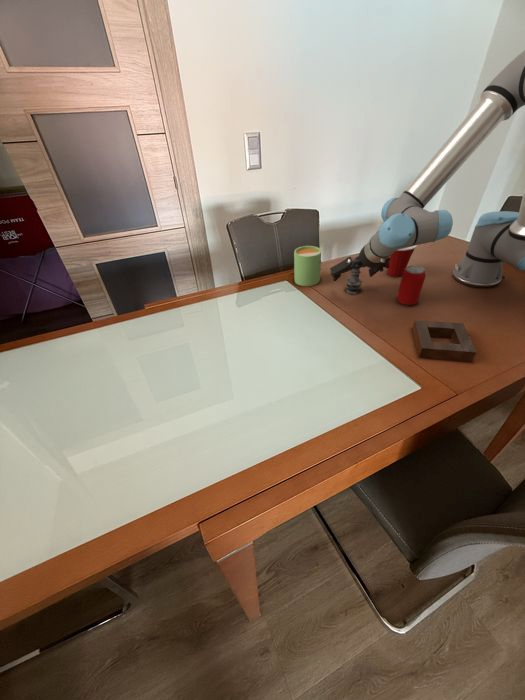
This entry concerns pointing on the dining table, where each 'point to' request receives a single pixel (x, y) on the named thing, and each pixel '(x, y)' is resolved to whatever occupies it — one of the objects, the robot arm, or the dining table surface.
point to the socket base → (444, 351)
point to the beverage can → (411, 285)
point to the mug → (307, 265)
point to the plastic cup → (400, 261)
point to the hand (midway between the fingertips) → (352, 275)
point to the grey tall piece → (353, 282)
